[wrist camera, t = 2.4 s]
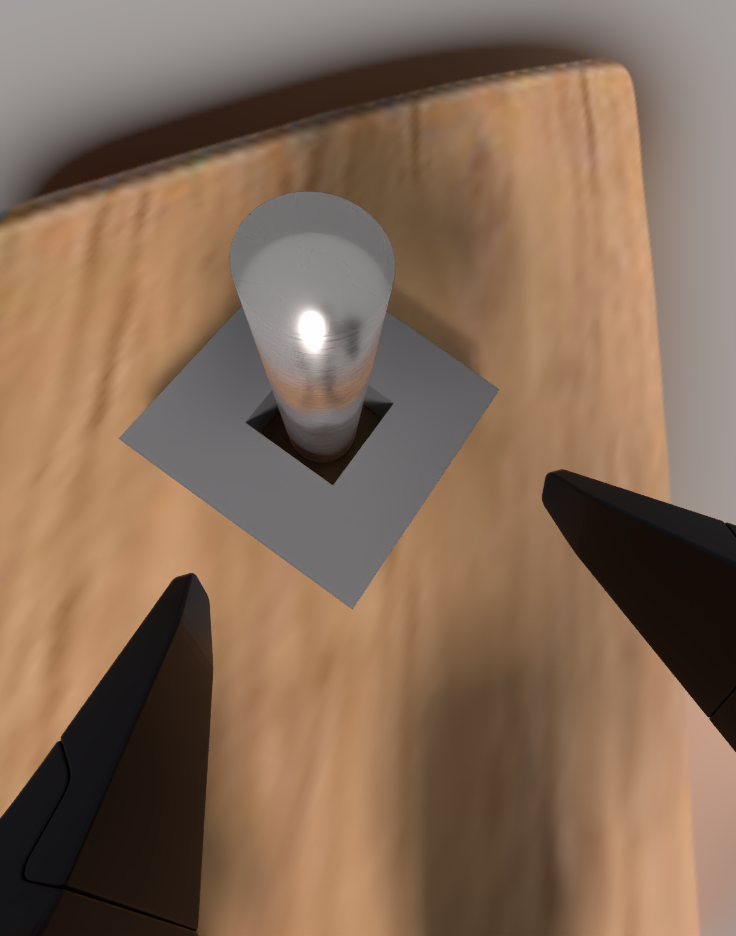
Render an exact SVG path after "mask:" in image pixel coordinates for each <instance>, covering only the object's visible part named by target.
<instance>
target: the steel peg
mask: <svg viewBox="0 0 736 936" xmlns="http://www.w3.org/2000/svg"><path fill="white" fill-rule="evenodd" d="M230 269H231V274H232V278H233V281H234V284H235V287H236V290H237V292H238V295H239V298H240V301H241V304H242V306H243V309H244V312H245V315H246V318H247V321H248V323H249V326H250V329H251V332H252V335H253V338H254V340H255V343H256V346H257V349H258V352H259V354H260V357H261V360H262V363H263V366H264V369H265V371H266V374H267V377H268V380H269V383H270V385H271V388H272V391H273V394H274V397H275V400H276V402H277V405H278V408H279V411H280V414H281V416H282V419H283V422H284V425H285V428H286V431H287V433H288V436H289V439H290V442H291V444H292V446H293V447H294V449H295V450H296V451H297V452H298V453H299V454H300V455H301V456H303V457H304V458H306V459H308V460H311V461H314V462H330V461H333V460H336V459H338V458H340V457H341V456H343V455H344V454H345V453H346V452H347V451H348V450H349V449H350V447H351V446H352V444H353V442H354V439H355V435H356V431H357V427H358V423H359V419H360V415H361V411H362V407H363V403H364V399H365V395H366V391H367V387H368V383H369V379H370V375H371V371H372V367H373V363H374V359H375V355H376V351H377V347H378V343H379V339H380V335H381V331H382V327H383V323H384V318H385V314H386V310H387V306H388V302H389V298H390V294H391V290H392V286H393V282H394V276H395V259H394V253H393V249H392V246H391V243H390V241H389V239H388V237H387V235H386V233H385V232H384V230H383V229H382V227H381V226H380V225H379V223H378V222H377V221H376V220H375V219H374V218H373V217H372V216H371V215H370V214H369V213H367V212H366V211H365V210H364V209H362V208H361V207H359V206H358V205H356V204H354V203H352V202H350V201H348V200H346V199H344V198H341V197H338V196H335V195H331V194H327V193H321V192H295V193H289V194H285V195H281V196H278V197H275V198H273V199H271V200H269V201H267V202H265V203H263V204H262V205H260V206H259V207H257V208H256V209H254V210H253V211H252V212H251V213H250V214H249V215H248V216H247V217H246V218H245V219H244V221H243V222H242V223H241V225H240V226H239V228H238V229H237V231H236V234H235V236H234V238H233V241H232V245H231V250H230Z"/></svg>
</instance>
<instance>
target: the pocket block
mask: <svg viewBox="0 0 736 936" xmlns="http://www.w3.org/2000/svg"><path fill="white" fill-rule="evenodd" d="M499 390H500V389H498V388H497V387H495V386H494V385H492V384H491V383H489V382H488V381H487V380H485V379H484V378H482V377H481V376H479V375H478V374H477V373H475V372H474V371H472V370H471V369H469V368H468V367H466V366H465V365H464V364H462V363H461V362H459V361H458V360H456V359H455V358H454V357H452V356H451V355H449V354H448V353H446V352H445V351H444V350H442V349H441V348H439V347H438V346H436V345H435V344H433V343H432V342H431V341H429V340H428V339H426V338H425V337H423V336H422V335H421V334H419V333H418V332H416V331H415V330H413V329H412V328H410V327H409V326H408V325H406V324H405V323H403V322H402V321H400V320H399V319H398V318H396V317H395V316H393V315H392V314H390V313H389V312H388V311H386V314H385V318H384V323H383V327H382V331H381V335H380V339H379V343H378V347H377V351H376V355H375V359H374V363H373V367H372V371H371V375H370V379H369V383H368V387H367V391H366V395H365V399H364V403H363V405H364V406H365V407H367V408H368V409H370V410H371V411H373V412H374V413H375V414H377V415H378V416H380V417H381V418H382V420H381V421H380V423H379V424H378V425H377V427H376V428H375V429H374V431H373V432H372V434H371V435H370V436H369V438H368V439H367V440H366V442H365V443H364V444H363V446H362V447H361V448H360V450H359V451H358V452H357V454H356V455H355V456H354V458H353V459H352V460H351V462H350V463H349V465H348V466H347V467H346V469H345V470H344V471H343V473H342V474H341V475H340V477H339V478H338V479H337V481H336V482H335V483H334V485H331V484H330V483H329V482H327V481H326V480H324V479H323V478H322V477H320V476H319V475H317V474H316V473H315V472H313V471H312V470H311V469H309V468H308V467H306V466H305V465H304V464H302V463H301V462H299V461H298V460H297V459H295V458H294V457H292V456H291V455H290V454H288V453H287V452H285V451H284V450H283V449H281V448H280V447H279V446H277V445H276V444H274V443H273V442H272V441H270V440H269V439H267V438H266V437H265V436H263V435H262V434H260V433H261V431H262V430H263V429H264V428H265V427H266V425H267V424H268V423H269V422H270V420H271V419H272V418H273V417H274V416H275V414H276V413H277V412H278V411H279V408H278V405H277V402H276V400H275V397H274V394H273V391H272V388H271V385H270V383H269V380H268V377H267V374H266V371H265V369H264V366H263V363H262V360H261V357H260V354H259V352H258V349H257V346H256V343H255V340H254V338H253V335H252V332H251V329H250V326H249V323H248V321H247V318H246V315H245V312H244V309H243V306H241V307H240V308H239V309H238V310H237V311H236V312H235V313H234V314H233V315H232V317H231V318H230V319H229V320H228V321H227V322H226V323H225V324H224V325H223V326H222V327H221V328H220V330H219V331H218V332H217V333H216V334H215V335H214V336H213V337H212V338H211V339H210V340H209V341H208V342H207V344H206V345H205V346H204V347H203V348H202V349H201V350H200V351H199V352H198V353H197V354H196V355H195V357H194V358H193V359H192V360H191V361H190V362H189V363H188V364H187V365H186V366H185V367H184V368H183V370H182V371H181V372H180V373H179V374H178V375H177V376H176V377H175V378H174V379H173V380H172V381H171V382H170V384H169V385H168V386H167V387H166V388H165V389H164V390H163V391H162V392H161V393H160V394H159V395H158V397H157V398H156V399H155V400H154V401H153V402H152V403H151V404H150V405H149V406H148V407H147V408H146V410H145V411H144V412H143V413H142V414H141V415H140V416H139V417H138V418H137V419H136V420H135V421H134V423H133V424H132V425H131V426H130V427H129V428H128V429H127V430H126V431H125V432H124V433H123V434H122V435H121V437H120V438H119V439H120V440H121V441H123V442H124V443H125V444H127V445H128V446H129V447H131V448H132V449H133V450H135V451H136V452H138V453H139V454H140V455H142V456H143V457H144V458H146V459H147V460H149V461H150V462H151V463H153V464H154V465H155V466H157V467H158V468H159V469H161V470H162V471H164V472H165V473H166V474H168V475H169V476H170V477H172V478H173V479H175V480H176V481H177V482H179V483H180V484H181V485H183V486H184V487H185V488H187V489H188V490H190V491H191V492H192V493H194V494H195V495H196V496H198V497H199V498H201V499H202V500H203V501H205V502H206V503H207V504H209V505H210V506H211V507H213V508H214V509H216V510H217V511H218V512H220V513H221V514H222V515H224V516H225V517H227V518H228V519H229V520H231V521H232V522H233V523H235V524H236V525H237V526H239V527H240V528H242V529H243V530H244V531H246V532H247V533H248V534H250V535H251V536H253V537H254V538H255V539H257V540H258V541H259V542H261V543H262V544H263V545H265V546H266V547H268V548H269V549H270V550H272V551H273V552H274V553H276V554H277V555H279V556H280V557H281V558H283V559H284V560H285V561H287V562H288V563H289V564H291V565H292V566H294V567H295V568H296V569H298V570H299V571H300V572H302V573H303V574H305V575H306V576H307V577H309V578H310V579H311V580H313V581H314V582H315V583H317V584H318V585H320V586H321V587H322V588H324V589H325V590H326V591H328V592H329V593H331V594H332V595H333V596H335V597H336V598H337V599H339V600H340V601H342V602H343V603H344V604H346V605H347V606H348V607H350V608H351V609H353V608H354V606H355V605H356V603H357V602H358V600H359V599H360V597H361V596H362V594H363V593H364V591H365V590H366V588H367V587H368V585H369V584H370V582H371V581H372V579H373V578H374V576H375V575H376V573H377V572H378V570H379V569H380V567H381V566H382V564H383V563H384V561H385V560H386V558H387V557H388V555H389V554H390V552H391V551H392V549H393V548H394V546H395V545H396V543H397V542H398V540H399V539H400V537H401V536H402V535H403V533H404V532H405V530H406V529H407V527H408V526H409V524H410V523H411V521H412V520H413V518H414V517H415V515H416V514H417V512H418V511H419V509H420V508H421V506H422V505H423V503H424V502H425V500H426V499H427V497H428V496H429V494H430V493H431V491H432V490H433V488H434V487H435V485H436V484H437V482H438V481H439V479H440V478H441V476H442V475H443V473H444V472H445V470H446V469H447V467H448V466H449V464H450V463H451V461H452V460H453V458H454V457H455V455H456V454H457V452H458V451H459V449H460V448H461V446H462V445H463V443H464V442H465V440H466V439H467V437H468V436H469V434H470V433H471V431H472V430H473V428H474V427H475V425H476V424H477V422H478V421H479V419H480V418H481V416H482V415H483V413H484V412H485V410H486V409H487V407H488V406H489V404H490V403H491V401H492V400H493V399H494V397H495V396H496V394H497V393H498V391H499Z"/></svg>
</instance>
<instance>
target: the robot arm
mask: <svg viewBox="0 0 736 936" xmlns="http://www.w3.org/2000/svg"><path fill="white" fill-rule="evenodd" d="M542 501H543V504H544V506H545V508H546V509H547V511H548V513H549V514H550V516H551V517H552V519H553V520H554V522H555V523H556V525H557V526H558V528H559V529H560V531H561V532H562V534H563V536H564V537H565V539H566V540H567V542H568V543H569V545H570V546H571V548H572V549H573V550H574V552H575V553H576V555H577V556H578V557H579V558H580V560H581V561H582V562H583V563H584V565H585V566H586V567H587V568H588V570H589V571H590V572H591V573H592V575H593V576H594V577H595V578H596V580H597V581H598V582H599V583H600V584H601V586H602V587H603V588H604V589H605V591H606V592H607V593H608V594H609V596H610V597H611V598H612V599H613V601H614V602H615V603H616V604H617V606H618V607H619V608H620V609H621V610H622V612H623V613H624V614H625V615H626V617H627V618H628V619H629V620H630V622H631V623H632V624H633V625H634V627H635V628H636V629H637V630H638V631H639V633H640V634H641V635H642V636H643V638H644V639H645V640H646V641H647V643H648V644H649V645H650V646H651V648H652V649H653V650H654V651H655V653H656V654H657V655H658V656H659V657H660V659H661V660H662V661H663V662H664V664H665V665H666V666H667V667H668V669H669V670H670V671H671V672H672V674H673V675H674V676H675V677H676V678H677V680H678V681H679V682H680V683H681V685H682V686H683V687H684V688H685V690H686V691H687V692H688V693H689V695H690V696H691V697H692V698H693V699H694V701H695V702H696V703H697V704H698V706H699V707H700V708H701V709H702V711H703V712H704V713H705V714H706V716H707V717H710V718H709V719H710V721H711V722H712V723H713V725H714V726H715V727H716V728H717V729H718V730H719V732H720V733H721V734H722V736H723V737H724V738H725V739H726V741H727V742H728V743H729V744H730V746H731V747H732V748H733V749H734V751H735V752H736V525H733V524H730V523H724V522H723V521H721V520H717V519H715V518H711V517H708V516H705V515H702V514H699V513H696V512H693V511H690V510H687V509H684V508H680V507H677V506H674V505H672V504H668V503H665V502H662V501H659V500H656V499H653V498H650V497H647V496H644V495H641V494H638V493H635V492H632V491H629V490H625V489H622V488H619V487H616V486H613V485H610V484H607V483H604V482H601V481H598V480H595V479H592V478H589V477H586V476H583V475H579V474H576V473H573V472H570V471H567V470H563V469H561V470H557V471H553V472H550V473H548V474H547V475H546V477H545V482H544V488H543V493H542ZM212 683H213V653H212V636H211V619H210V604H209V598H208V595H207V593H206V592H205V590H204V588H203V586H202V585H201V583H200V581H199V579H198V578H197V576H196V575H195V574H194V573H189V574H185V575H182V576H178V577H176V578H174V579H173V580H172V582H171V583H170V584H169V586H168V587H167V589H166V590H165V591H164V593H163V594H162V596H161V597H160V598H159V600H158V601H157V603H156V604H155V605H154V607H153V608H152V610H151V611H150V612H149V614H148V615H147V617H146V618H145V619H144V621H143V622H142V624H141V625H140V626H139V628H138V629H137V631H136V632H135V633H134V635H133V636H132V638H131V639H130V640H129V642H128V643H127V645H126V646H125V647H124V649H123V650H122V652H121V653H120V654H119V656H118V657H117V659H116V660H115V661H114V663H113V664H112V666H111V667H110V668H109V670H108V671H107V673H106V674H105V675H104V677H103V678H102V680H101V681H100V682H99V684H98V685H97V687H96V688H95V689H94V691H93V692H92V694H91V695H90V696H89V698H88V699H87V701H86V702H85V703H84V705H83V706H82V708H81V709H80V711H79V712H78V713H77V715H76V716H75V718H74V719H73V720H72V722H71V723H70V725H69V726H68V727H67V729H66V730H65V732H64V733H63V734H62V736H61V741H58V742H57V743H56V744H55V745H54V747H53V748H52V749H51V751H50V752H49V754H48V755H47V756H46V758H45V759H44V761H43V762H42V763H41V765H40V766H39V768H38V769H37V770H36V772H35V773H34V774H33V776H32V777H31V778H30V780H29V781H28V782H27V784H26V785H25V787H24V788H23V789H22V791H21V792H20V793H19V795H18V796H17V797H16V799H15V800H14V801H13V803H12V804H11V805H10V806H9V808H8V809H7V810H6V812H5V813H4V814H3V815H2V817H1V818H0V936H198V932H196V931H197V929H198V919H199V902H200V886H201V869H202V852H203V835H204V818H205V801H206V784H207V768H208V751H209V734H210V717H211V700H212Z"/></svg>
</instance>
